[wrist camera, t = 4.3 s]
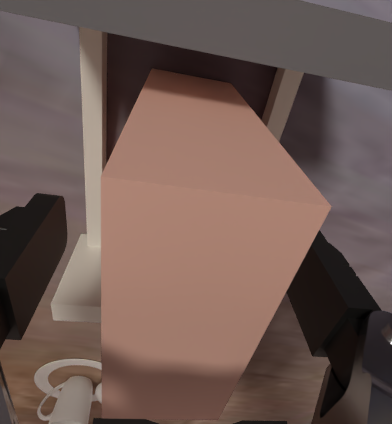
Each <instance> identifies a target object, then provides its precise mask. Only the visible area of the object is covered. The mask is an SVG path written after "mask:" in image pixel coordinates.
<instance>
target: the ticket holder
mask: <svg viewBox="0 0 392 424" xmlns="http://www.w3.org/2000/svg"><path fill="white" fill-rule="evenodd" d="M0 11H4V12H9V13H14V14H19V15H24V16H28V17H33V18H38V19H43V20H48V21H53V22H58V23H63V24H68V25H73V26H77V27H79V37H80V63H81V89H82V115H83V141H84V167H85V193H86V219H87V234H81V235H80V238H79V240H78V242H77V245H76V247H75V249H74V252H73V254H72V256H71V258H70V261H69V263H68V265H67V268H66V270H65V272H64V275H63V277H62V279H61V281H60V284H59V286H58V288H57V291H56V293H55V295H54V298H53V300H52V302H51V309H52V315H53V320H57V321H75V322H93V323H101V175H102V173H103V171H104V169H105V166H106V130H107V33H112V34H117V35H122V36H127V37H131V38H136V39H141V40H146V41H151V42H156V43H161V44H166V45H171V46H176V47H180V48H185V49H190V50H195V51H200V52H205V53H210V54H215V55H220V56H225V57H230V58H234V59H239V60H244V61H249V62H254V63H259V64H264V65H269V66H274V67H278V68H277V71H276V74H275V78H274V81H273V84H272V87H271V91H270V94H269V97H268V100H267V104H266V107H265V110H264V113H263V117H262V120H261V121H262V122H263V123H264V125H265V126H266V127H267V128H268V129H269V131H270V132H271V133H272V134H273V136H274V137H275V138H276V139H277V140H278V142H279V141H280V138H281V135H282V133H283V130H284V127H285V124H286V121H287V119H288V116H289V113H290V110H291V107H292V105H293V102H294V99H295V96H296V93H297V91H298V88H299V85H300V82H301V79H302V77H303V74H304V73H308V74H313V75H318V76H323V77H328V78H333V79H337V80H342V81H347V82H352V83H357V84H362V85H367V86H372V87H377V88H382V89H386V90H391V91H392V23H390V22H386V21H382V20H378V19H374V18H370V17H366V16H362V15H358V14H353V13H349V12H345V11H341V10H337V9H333V8H329V7H325V6H321V5H317V4H313V3H308V2H304V1H300V0H0Z"/></svg>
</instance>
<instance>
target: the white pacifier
mask: <svg viewBox="0 0 392 424" xmlns="http://www.w3.org/2000/svg"><path fill="white" fill-rule="evenodd" d="M69 365H85V366H91V367H95V368H98V369H100V370H102V368H101V362H98V361H93V360H88V359H62V360H57V361H53V362H50V363H47V364H45V365H43V366H42V367H40V368H39V369H38V370H37V371H36V373H35V376H34V381H35V384H36V385H37V387H38V388H39V389H40V390H41V391H43V392H44V393H46V394H47V395H46V396H45V398H44V399H43V400H42V402H41V403H40V405H39V407H38V410H37V414H38V416H39V418H40V419H41V420H44V421H46V420H49V423H48V424H88V421H89V415H90V409H91V402H92V401H99V402H100V403H101V404H102V382H101V383H100V384H99V385H98V386H97V387H96V390H95V394H94V395H92V393H93V387H92V381H91V380H90V379H89V378H87V377H84V376H73V377H70V378H69V379H68V380H67V381H66V382H63V383H61V384H60V385H58V386H56V387H55V388H53V387H52V386H51V385H50V384H49V382H48V376H49V374H50V373H51V372H52V371H53V370H55V369H57V368H60V367H63V366H69ZM60 388H62V390H61V391H59V390H58V389H60ZM49 396H52V397H55V398H58V399H57V401H56V404H55V407H54V409H53V412H52V413H51V414H49V415H47V416H44V415H42V413H41V406H42V405H43V403H44V402H45V401H46V399H47V398H48V397H49Z"/></svg>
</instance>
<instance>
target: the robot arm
mask: <svg viewBox="0 0 392 424" xmlns="http://www.w3.org/2000/svg"><path fill="white" fill-rule="evenodd" d="M66 243H67V223H66V211H65V201H64V198H63V197H62V196H57V195H49V194H40V193H37V194H35V195H34V196H33V198H32V199H31V200H30V201H29V203H28V204H27V205H26V206H25V207H15V208H13V209H11V210H9V211H8V212H6V213H4V214H2V215H1V216H0V348H1V347H2V345H3V343H4V341H5V339H11V340H21V339H22V337H23V335H24V333H25V331H26V329H27V327H28V325H29V323H30V321H31V318H32V316H33V314H34V312H35V310H36V308H37V306H38V304H39V302H40V300H41V298H42V296H43V294H44V292H45V290H46V288H47V286H48V284H49V282H50V280H51V278H52V275H53V273H54V271H55V269H56V267H57V265H58V263H59V261H60V259H61V257H62V255H63V253H64V251H65V247H66ZM286 292H287V294H288V297H289V299H290V302H291V304H292V307H293V309H294V311H295V314H296V316H297V319H298V321H299V324H300V326H301V329H302V331H303V334H304V336H305V339H306V341H307V344H308V346H309V349H310V351H311V354H312V356H316V357H328V359H329V361H330V364H329V366H328V367H327V368H326V371H325V375H324V378H323V382H322V386H321V390H320V393H319V397H318V401H317V404H316V408H315V412H314V416H313V419H312V422H311V424H392V313H390V312H386V311H382V310H381V309H380V307H379V306H378V305H377V303H376V302H375V300H374V299H373V297H372V296H371V295H370V293H369V292H368V290H367V289H366V287H365V286H364V285H363V283H362V282H361V280H360V279H359V278H358V276H356V273H355V272H354V270H353V269H352V268H351V267H349V263H348V262H347V260H346V259H345V258H344V256H343V255H342V253H341V252H339V251H338V250H337V249H336V248H335V247H334V246H332V245H331V244H330V243H328V242H327V240H326V239H325V237H324V236H323V234H322V233H321V231H320V230H319V231H318V233H317V235H316V237H315V239H314V241H313V242H312V244H311V246H310V248H309V250H308V252H307V254H306V256H305V258H304V259H303V261H302V263H301V265H300V267H299V269H298V271H297V273H296V274H295V276H294V278H293V280H292V282H291V284H290V286H289V288H288V289H287V291H286ZM0 424H19V422H18V419H17V415H16V412H15V409H14V405H13V402H12V399H11V395H10V392H9V389H8V385H7V382H6V379H5V375H4V372H3V369H2V365H1V362H0ZM93 424H158V423H155V422H152V421H149V420H146V419H109V418H94V420H93ZM234 424H287V421H240V422H237V423H234Z"/></svg>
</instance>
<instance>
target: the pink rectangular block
mask: <svg viewBox="0 0 392 424" xmlns="http://www.w3.org/2000/svg"><path fill="white" fill-rule="evenodd" d="M330 209H331V205H330V204H329V203H328V202H327V201H326V199H325V198H324V197H323V196H322V194H321V193H320V192H319V191H318V190H317V188H316V187H315V186H314V185H313V183H312V182H311V181H310V180H309V179H308V177H307V176H306V175H305V174H304V172H303V171H302V170H301V169H300V167H299V166H298V165H297V164H296V163H295V161H294V160H293V159H292V158H291V156H290V155H289V154H288V153H287V152H286V150H285V149H284V148H283V147H282V145H281V144H280V143H279V142H278V140H277V139H276V138H275V137H274V136H273V134H272V133H271V132H270V131H269V129H268V128H267V127H266V126H265V125H264V123H263V122H262V121H261V120H260V118H259V117H258V116H257V115H256V114H255V112H254V111H253V110H252V109H251V107H250V106H249V105H248V104H247V102H246V101H245V100H244V99H243V98H242V96H241V95H240V94H239V93H238V91H237V90H236V89H235V88H234V87H233V85H232V84H231V83H226V82H221V81H216V80H211V79H205V78H200V77H195V76H190V75H184V74H179V73H174V72H169V71H163V70H158V69H153V68H152V69H151V71H150V73H149V75H148V78H147V80H146V82H145V84H144V86H143V88H142V90H141V92H140V94H139V97H138V99H137V101H136V103H135V105H134V107H133V109H132V111H131V114H130V116H129V118H128V120H127V122H126V124H125V126H124V128H123V130H122V133H121V135H120V137H119V139H118V141H117V143H116V145H115V147H114V149H113V152H112V154H111V156H110V158H109V160H108V162H107V164H106V166H105V169H104V171H103V173H102V175H101V368H102V418H109V419H160V420H218V419H219V417H220V415H221V414H222V412H223V410H224V408H225V406H226V404H227V402H228V400H229V398H230V397H231V395H232V393H233V391H234V389H235V387H236V385H237V383H238V382H239V380H240V378H241V376H242V374H243V372H244V370H245V368H246V367H247V365H248V363H249V361H250V359H251V357H252V355H253V353H254V351H255V350H256V348H257V346H258V344H259V342H260V340H261V338H262V336H263V335H264V333H265V331H266V329H267V327H268V325H269V323H270V321H271V320H272V318H273V316H274V314H275V312H276V310H277V308H278V306H279V304H280V303H281V301H282V299H283V297H284V295H285V293H286V291H287V289H288V288H289V286H290V284H291V282H292V280H293V278H294V276H295V274H296V273H297V271H298V269H299V267H300V265H301V263H302V261H303V259H304V258H305V256H306V254H307V252H308V250H309V248H310V246H311V244H312V242H313V241H314V239H315V237H316V235H317V233H318V231H319V229H320V227H321V226H322V224H323V222H324V220H325V218H326V216H327V214H328V212H329V211H330Z"/></svg>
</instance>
